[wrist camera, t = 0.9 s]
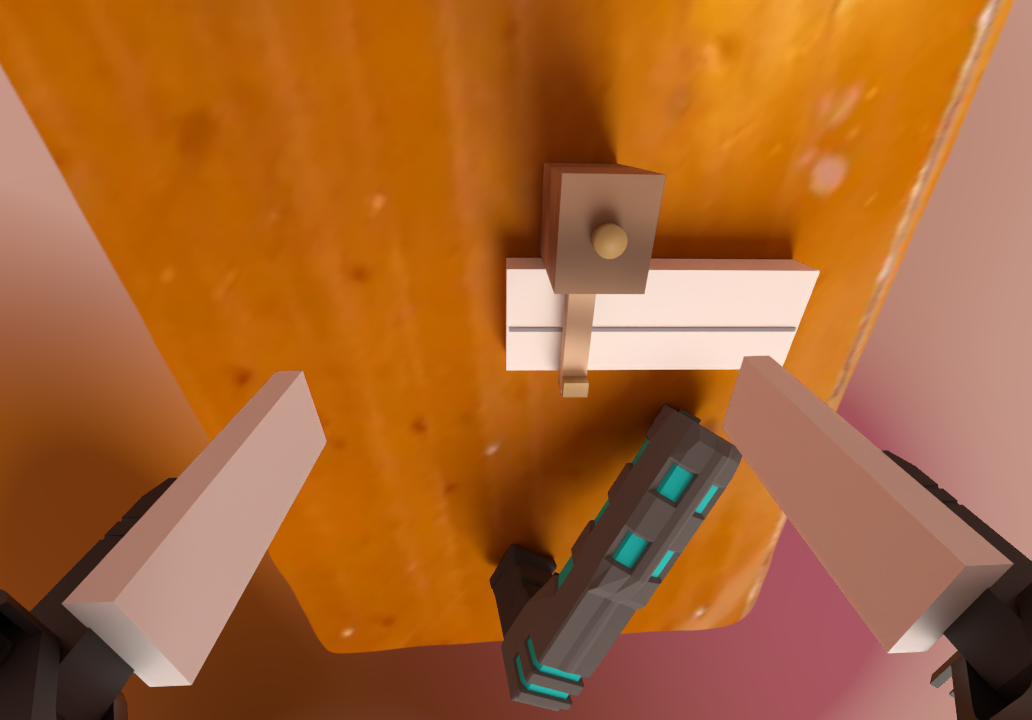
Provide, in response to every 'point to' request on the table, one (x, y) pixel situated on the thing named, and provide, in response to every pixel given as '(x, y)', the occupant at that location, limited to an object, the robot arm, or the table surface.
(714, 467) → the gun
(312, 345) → the table surface
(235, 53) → the table surface
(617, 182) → the brown wooden clamp
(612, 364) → the board
